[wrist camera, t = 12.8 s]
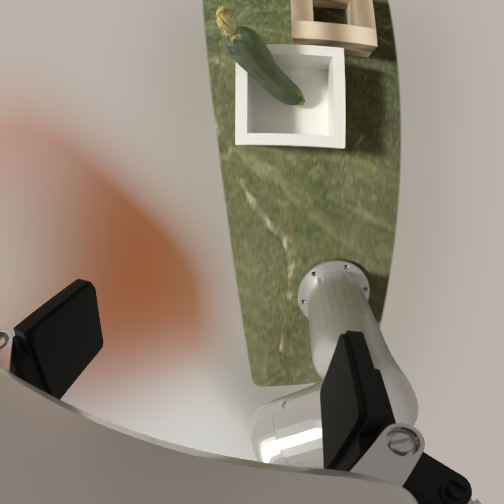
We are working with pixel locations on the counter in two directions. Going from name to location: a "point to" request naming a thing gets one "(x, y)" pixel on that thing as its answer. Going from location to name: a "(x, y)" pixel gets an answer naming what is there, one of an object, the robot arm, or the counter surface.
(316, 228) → the counter surface
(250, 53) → the vegetable
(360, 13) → the holder
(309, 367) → the counter surface
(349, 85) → the counter surface
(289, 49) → the bin
